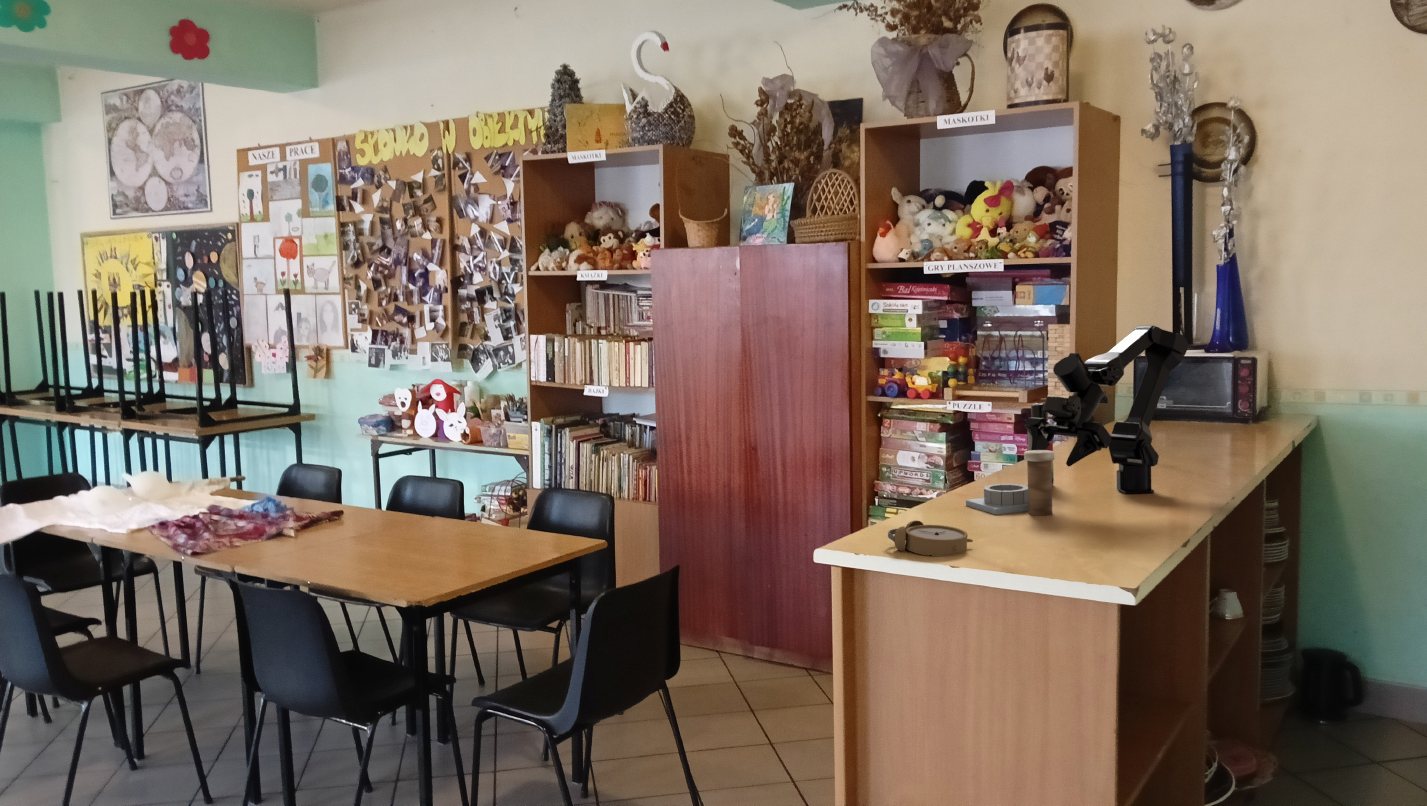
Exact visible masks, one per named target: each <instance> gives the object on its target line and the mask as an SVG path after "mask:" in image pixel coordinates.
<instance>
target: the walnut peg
mask: <svg viewBox="0 0 1427 806" xmlns="http://www.w3.org/2000/svg"><path fill="white" fill-rule="evenodd" d="M1023 458H1024V461H1026V465H1027V466H1026V468H1027V471H1026V472H1027V486H1028V511H1027V513H1028V514H1029V515H1031V516H1038V517H1039V516H1040V517H1046V516H1051V515H1053V488H1052V487H1053V486H1052V473H1051V460H1053V461H1054V460H1055V451H1054V450H1053V451H1049V450H1031V451H1028V450H1026V451H1024V452H1023Z"/></svg>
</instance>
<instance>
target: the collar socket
mask: <svg viewBox="0 0 1427 806" xmlns="http://www.w3.org/2000/svg"><path fill="white" fill-rule="evenodd" d="M965 506H967V507H970V508H974V509H977V510H979V511H981V512H982V511H983V512H986V513H990V514H993V515H995V516H996V515H1002V514H1010V513H1011V514H1012V513H1021V512H1028V485H1024V484H1020V483H1019V484H1016V483H998V484H996V483H995V484H989V485H986V486H983V497H982V498H974V499H973V498H971V499H966V500H965Z"/></svg>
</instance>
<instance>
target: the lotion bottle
mask: <svg viewBox="0 0 1427 806" xmlns="http://www.w3.org/2000/svg"><path fill="white" fill-rule="evenodd" d="M1044 404H1045V401H1044V402H1038V403H1037V402H1035V403H1032V404H1031V406H1030V410H1031V411H1030V414H1031V417H1034V418H1045V419H1046V421H1047V422H1048V423H1049V425H1053V423H1052V422H1051V421H1049V413H1048V412H1044V411H1043V408H1044ZM1031 417H1030V418H1031ZM1049 443H1050V446H1049V447H1048V448H1047V449H1046V450H1049V451H1053V452H1054V440H1052V441H1050V442H1049ZM1031 448H1032V436H1031V435H1030V433H1029V432H1028V431H1027V451H1031ZM1051 473H1052V487H1053V486H1054V485H1055V484H1054V481H1055V480H1054V479H1055V478H1054V473H1055V472H1054V460H1051Z"/></svg>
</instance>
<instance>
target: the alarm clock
mask: <svg viewBox="0 0 1427 806" xmlns="http://www.w3.org/2000/svg"><path fill="white" fill-rule="evenodd" d="M887 538H888V539H889V540H891V541H893V543H894V547H896V549H897V550H898V551H899V550H900V551H899V552H902V551H904V552H905V549H907V550H908V551H910V552H911V553H915V554H919V555H923V556H929V555H932V556H931V557H950V556H955V555H960V554H963V553H966V551H967V550H968V548H967V547H968V543H973V541H974V540H973V539H971V538H968V532H967V531H965V530H963V529H960V528H957V527H954V526H948V525H940V524H924V522H922V521H920V520H912V521H909V522H908V523H907V524H905V526H904V525H903V526H900V527H898V528H892V529H890V530H888V531H887Z"/></svg>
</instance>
